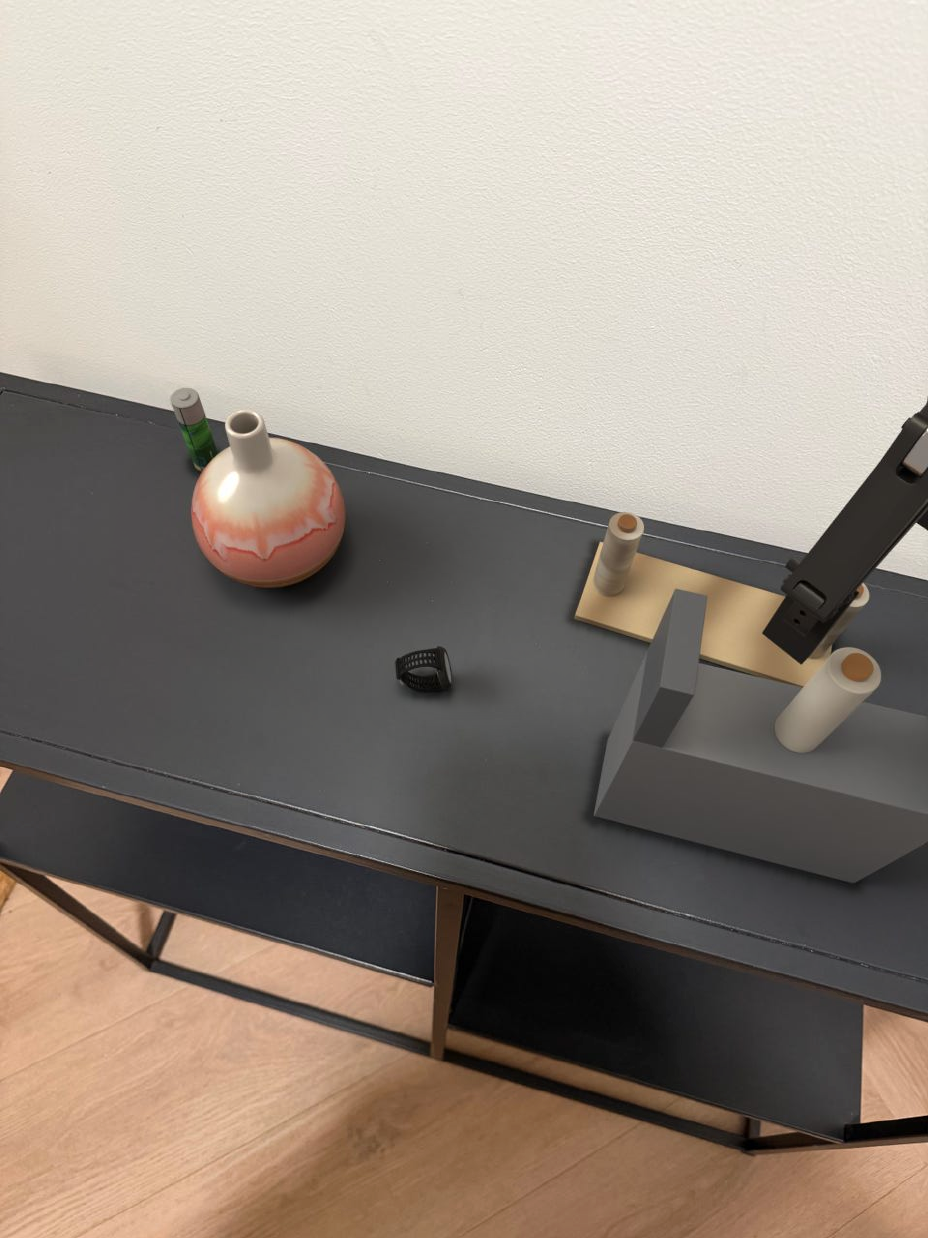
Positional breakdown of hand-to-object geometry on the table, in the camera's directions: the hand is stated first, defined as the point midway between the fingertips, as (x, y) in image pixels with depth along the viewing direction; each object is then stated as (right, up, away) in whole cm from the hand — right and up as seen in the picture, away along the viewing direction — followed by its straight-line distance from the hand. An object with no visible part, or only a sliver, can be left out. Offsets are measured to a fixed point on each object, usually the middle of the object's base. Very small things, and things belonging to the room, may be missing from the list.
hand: (853, 578), depth 49 cm
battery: (-50, +14, +38) cm, 64 cm away
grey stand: (-1, -18, +20) cm, 27 cm away
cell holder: (0, -2, +29) cm, 30 cm away
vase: (-41, +4, +32) cm, 52 cm away
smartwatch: (-26, -8, +25) cm, 37 cm away
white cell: (-1, -10, +6) cm, 12 cm away
